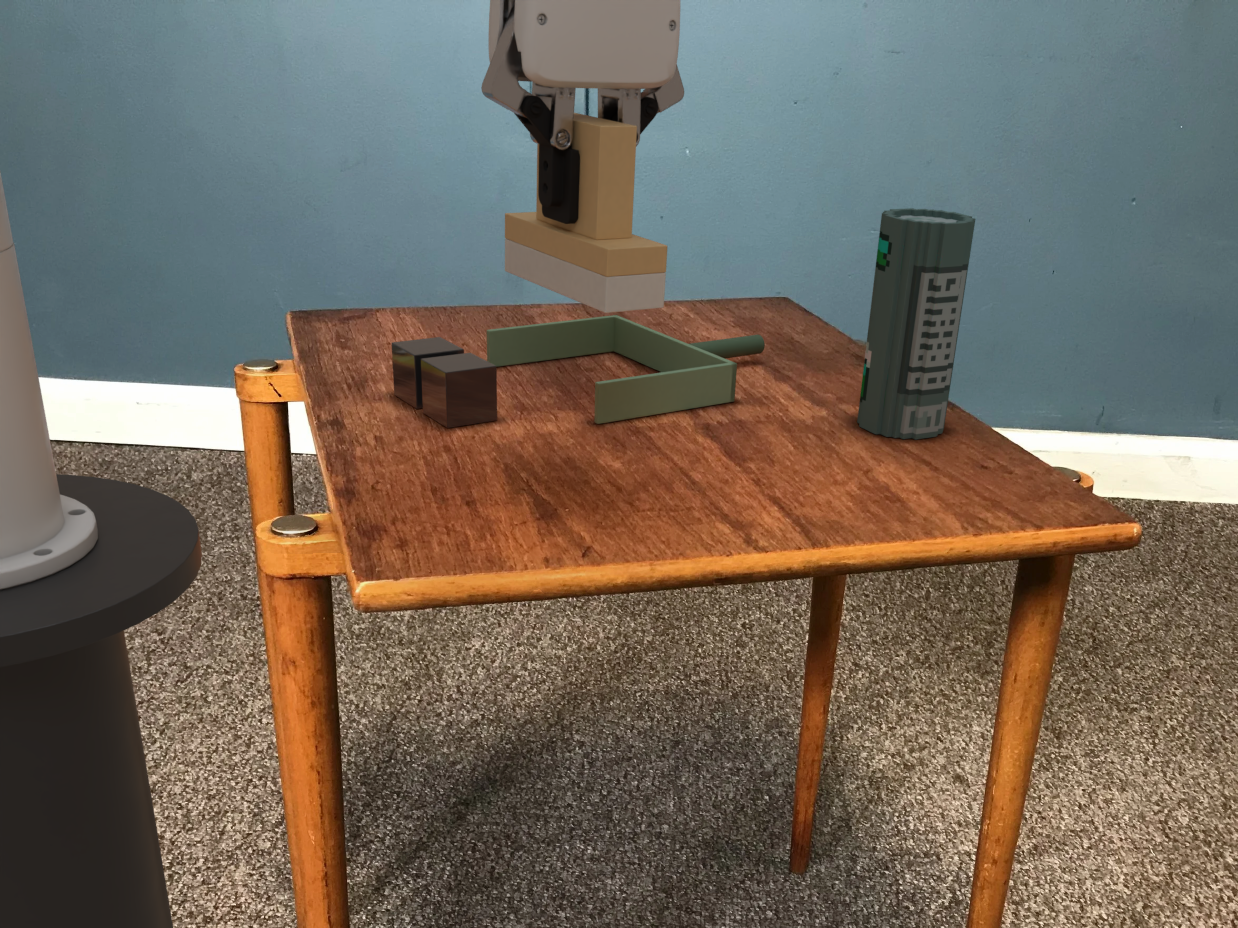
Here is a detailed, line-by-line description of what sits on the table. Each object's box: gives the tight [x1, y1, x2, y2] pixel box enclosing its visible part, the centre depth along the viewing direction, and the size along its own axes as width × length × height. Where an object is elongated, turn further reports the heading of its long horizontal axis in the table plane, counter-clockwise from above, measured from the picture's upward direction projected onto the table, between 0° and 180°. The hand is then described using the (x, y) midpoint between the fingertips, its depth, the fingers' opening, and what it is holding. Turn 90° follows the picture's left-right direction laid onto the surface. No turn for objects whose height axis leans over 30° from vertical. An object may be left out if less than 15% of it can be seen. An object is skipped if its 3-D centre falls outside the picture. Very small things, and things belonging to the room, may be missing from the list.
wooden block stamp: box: [504, 112, 668, 314], centre depth 76 cm, size 4×12×10 cm, turn 34°
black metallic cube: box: [391, 336, 465, 410], centre depth 97 cm, size 4×4×4 cm
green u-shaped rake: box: [486, 314, 766, 425], centre depth 105 cm, size 22×17×3 cm
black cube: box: [421, 352, 498, 429], centre depth 93 cm, size 4×4×4 cm
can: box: [856, 207, 976, 440], centre depth 93 cm, size 6×6×15 cm
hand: (582, 216), depth 76 cm, fingers closed on wooden block stamp, 2 cm apart
